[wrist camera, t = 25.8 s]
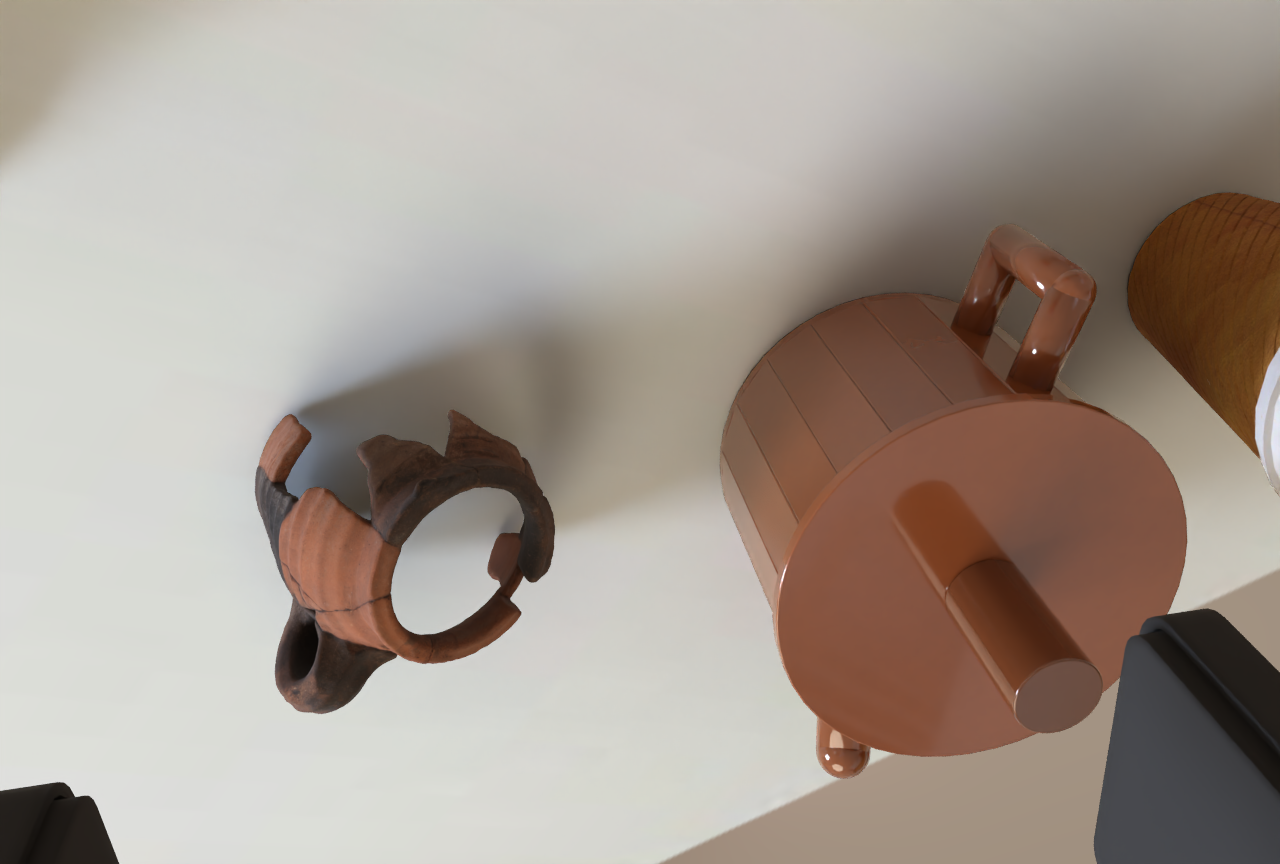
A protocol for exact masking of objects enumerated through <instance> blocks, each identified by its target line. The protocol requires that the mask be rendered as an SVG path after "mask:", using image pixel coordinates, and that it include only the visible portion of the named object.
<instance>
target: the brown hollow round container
mask: <svg viewBox="0 0 1280 864" xmlns="http://www.w3.org/2000/svg"><path fill="white" fill-rule="evenodd" d="M959 304H960V303H957V302H955V301H952V300H949V299H946V298H942V297H937V296H932V295H928V294H916V293H891V294H880V295H875V296H869V297H864V298H860V299H857V300H853V301H850V302H847V303H844V304H840V305H838V306H836V307H834V308H831V309H829V310H827V311H825V312H822V313H820V314H818V315H816V316H815V317H813V318H811V319H810V320H808V321H806V322H805V323H803V324H801V325H800V326H798V327H797V328H796V329H794V330H793V331H792V332H790V333H789V334H788V335H786V336H785V337H784V338H782V339H781V340H780V341H779V342H778V343H777V344H776V345H775V346H774V347H773V348H772V349H771V350H770V351H769V352H768V353H766V354H765V356H764V357H763V358H762V359H761V360H760V362H759V363H758V364H757V365H756V366H755V368H754V369H753V370H752V371H751V373H750V374H749V376H748V377H747V379H746V381H745V382H744V384H743V385H742V387H741V388H740V390H739V392H738V394H737V396H736V398H735V400H734V402H733V405H732V407H731V409H730V412H729V415H728V418H727V421H726V424H725V427H724V431H723V437H722V442H721V448H720V473H721V482H722V487H723V495H724V498H725V501H726V503H727V505H728V508H729V510H730V513H731V515H732V517H733V520H734V522H735V524H736V527H737V529H738V531H739V534H740V536H741V539H742V541H743V543H744V546H745V548H746V550H747V553H748V555H749V557H750V560H751V562H752V565H753V567H754V569H755V572H756V574H757V576H758V579H759V581H760V583H761V586H762V588H763V591H764V593H765V595H766V598H767V600H768V602H769V605H770V607H771V610H772V612H773V599H774V590H775V585H776V580H777V576H778V571H779V567H780V564H781V561H782V559H783V556H784V553H785V551H786V548H787V545H788V543H789V541H790V539H791V537H792V535H793V533H794V531H795V529H796V527H797V526H798V524H799V522H800V520H801V518H802V517H803V515H804V514H805V513H806V511H807V510H808V508H809V507H810V505H811V504H812V502H813V501H814V500H815V498H816V497H817V495H818V494H819V493H820V492H821V491H822V490H823V489H824V488H825V486H826V485H827V484H828V483H829V482H830V481H831V480H832V478H833V477H834V476H835V475H836V474H837V473H838V472H839V471H840V470H842V469H843V468H844V467H845V466H846V465H847V464H848V463H849V462H850V461H852V460H853V459H854V458H855V457H856V456H857V455H858V454H860V453H861V452H862V451H864V450H865V449H866V448H868V447H869V446H871V445H872V444H873V443H875V442H876V441H878V440H879V439H880V438H882V437H883V436H885V435H887V434H888V433H890V432H892V431H894V430H895V429H897V428H899V427H901V426H902V425H904V424H906V423H908V422H910V421H912V420H914V419H916V418H919V417H921V416H923V415H926V414H928V413H930V412H933V411H935V410H937V409H940V408H944V407H947V406H950V405H953V404H957V403H960V402H963V401H967V400H972V399H977V398H982V397H988V396H993V395H1005V394H1020V393H1027V394H1044V395H1054V396H1059V397H1064V398H1069V399H1074V400H1078V401H1081V402H1084V403H1086V402H1085V401H1084V400H1083V399H1082V398H1080V397H1079V396H1078V395H1077V394H1076V393H1075V392H1074V391H1073V390H1071V389H1070V388H1069V387H1068V386H1067V385H1066V384H1065V383H1063V382H1062V381H1061V380H1060V379H1059V378H1058V379H1057V381H1056V383H1055V385H1054V387H1053V389H1052V390H1050V391H1044V390H1039V389H1035V388H1031V387H1028V386H1026V385H1024V384H1021V383H1019V382H1017V381H1016V380H1014V379H1013V378H1012V377H1010V375H1009V371H1010V368H1011V366H1012V364H1013V362H1014V360H1015V357H1016V355H1017V353H1018V351H1019V348H1020V346H1021V345H1020V344H1019V343H1018V342H1017V341H1016V340H1015V339H1014V338H1012V337H1011V336H1010V335H1009V334H1008V333H1007V332H1006V331H1004V330H1003V329H1002V328H1000V327H999V326H997V325H996V326H995V328H994V331H993V333H992V334H991V335H982V334H977V333H974V332H971V331H968V330H965V329H963V328H961V327H959V326H958V325H956V324H955V323H954V322H953V318H954V316H955V313H956V311H957V309H958V306H959Z"/></svg>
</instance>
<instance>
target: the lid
mask: <svg viewBox="0 0 1280 864" xmlns="http://www.w3.org/2000/svg"><path fill="white" fill-rule="evenodd" d="M1186 547H1187V525H1186V515H1185V510H1184V505H1183V500H1182V496H1181V493H1180V491H1179V488H1178V486H1177V483H1176V481H1175V478H1174V476H1173V474H1172V472H1171V471H1170V469H1169V467H1168V466H1167V464H1166V463H1165V461H1164V459H1163V458H1162V456H1161V455H1160V454H1159V453H1158V452H1157V451H1156V450H1155V448H1154V447H1153V446H1152V445H1151V444H1150V443H1149V442H1148V441H1147V440H1146V439H1145V438H1144V437H1143V436H1142V435H1140V434H1139V433H1138V432H1137V431H1135V430H1134V429H1133V428H1132V427H1130V426H1129V425H1128V424H1126V423H1125V422H1124V421H1123V420H1121V419H1119V418H1117V417H1116V416H1114V415H1112V414H1110V413H1108V412H1106V411H1105V410H1103V409H1101V408H1098V407H1095V406H1092V405H1090V404H1087V403H1084V402H1081V401H1078V400H1074V399H1069V398H1064V397H1059V396H1054V395H1044V394H1027V393H1020V394H1005V395H993V396H988V397H982V398H977V399H972V400H967V401H963V402H960V403H957V404H953V405H950V406H947V407H944V408H940V409H937V410H935V411H933V412H930V413H928V414H926V415H923V416H921V417H919V418H916V419H914V420H912V421H910V422H908V423H906V424H904V425H902V426H901V427H899V428H897V429H895V430H894V431H892V432H890V433H888V434H887V435H885V436H883V437H882V438H880V439H879V440H878V441H876V442H875V443H873V444H872V445H871V446H869V447H868V448H866V449H865V450H864V451H862V452H861V453H860V454H858V455H857V456H856V457H855V458H854V459H853V460H852V461H850V462H849V463H848V464H847V465H846V466H845V467H844V468H843V469H842V470H840V471H839V472H838V473H837V474H836V475H835V476H834V477H833V478H832V480H831V481H830V482H829V483H828V484H827V485H826V486H825V488H824V489H823V490H822V491H821V492H820V493H819V494H818V495H817V497H816V498H815V500H814V501H813V502H812V504H811V505H810V507H809V508H808V510H807V511H806V513H805V514H804V515H803V517H802V518H801V520H800V522H799V524H798V526H797V527H796V529H795V531H794V533H793V535H792V537H791V539H790V541H789V543H788V545H787V548H786V551H785V553H784V556H783V559H782V561H781V564H780V567H779V571H778V576H777V580H776V585H775V590H774V599H773V615H772V616H773V626H774V637H775V641H776V645H777V649H778V652H779V656H780V659H781V662H782V664H783V667H784V669H785V671H786V673H787V675H788V678H789V680H790V682H791V684H792V686H793V687H794V689H795V690H796V692H797V693H798V695H799V696H800V698H801V699H802V701H803V702H804V703H805V704H806V705H807V706H808V707H809V708H810V710H811V711H812V712H813V713H814V714H815V715H816V716H817V717H818V718H819V719H821V720H822V721H823V722H825V723H826V724H827V725H829V726H830V727H831V728H833V729H834V730H835V731H837V732H839V733H841V734H843V735H844V736H846V737H848V738H850V739H852V740H854V741H856V742H858V743H861V744H864V745H867V746H869V747H872V748H875V749H878V750H883V751H887V752H891V753H896V754H902V755H912V756H921V757H926V756H928V757H929V756H930V757H931V756H953V755H963V754H970V753H976V752H981V751H985V750H989V749H994V748H998V747H1001V746H1004V745H1007V744H1011V743H1014V742H1017V741H1020V740H1022V739H1024V738H1027V737H1029V736H1032V735H1034V734H1036V733H1054V732H1059V731H1063V730H1065V729H1068V728H1070V727H1072V726H1074V725H1076V724H1078V723H1079V722H1081V721H1082V720H1083V719H1085V718H1086V717H1087V716H1088V715H1089V714H1090V713H1091V712H1092V711H1093V710H1094V708H1095V707H1096V706H1097V704H1098V702H1099V700H1100V698H1101V695H1102V693H1103V692H1104V691H1106V690H1107V689H1108V688H1109V687H1110V686H1111V685H1112V684H1113V683H1114V682H1115V681H1116V680H1118V679H1119V678H1120V676H1121V670H1122V664H1123V657H1124V651H1125V647H1126V643H1127V641H1128V640H1129V638H1130V637H1132V636H1135V635H1139V633H1140V630H1141V627H1142V624H1143V623H1144V622H1145V621H1146V619H1148V618H1151V617H1154V616H1161V615H1167V613H1168V611H1169V609H1170V607H1171V605H1172V602H1173V600H1174V597H1175V595H1176V592H1177V590H1178V587H1179V583H1180V580H1181V576H1182V572H1183V568H1184V564H1185V556H1186Z"/></svg>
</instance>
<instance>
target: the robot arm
mask: <svg viewBox="0 0 1280 864" xmlns="http://www.w3.org/2000/svg"><path fill="white" fill-rule="evenodd" d="M1094 851H1095V857H1096V861H1097V864H1280V672H1279V671H1278V670H1277V669H1275V668H1274V667H1273V665H1272V664H1271V663H1270V662H1269V661H1268V660H1267V659H1266V658H1265V657H1264V656H1263V655H1261V653H1260V652H1259V651H1258V650H1256V648H1255V647H1254V646H1253V645H1251V643H1250V642H1249V641H1248V640H1247V639H1245V637H1244V636H1243V635H1242V634H1240V632H1239V631H1238V630H1237V629H1236V628H1235V627H1234V626H1233V625H1232V624H1231V623H1230V622H1229V621H1228V620H1226V618H1225V617H1223V616H1222V615H1221V614H1219V613H1218V612H1216V611H1215V610H1211V609H1200V610H1194V611H1187V612H1181V613H1174V614H1167V615H1161V616H1154V617H1151V618H1148V619H1146V621H1145V622H1144V623H1143V624H1142V627H1141V630H1140V633H1139V635H1135V636H1132V637H1130V638H1129V640H1128V641H1127V643H1126V647H1125V651H1124V657H1123V664H1122V670H1121V676H1120V682H1119V688H1118V695H1117V701H1116V707H1115V713H1114V719H1113V725H1112V731H1111V737H1110V744H1109V750H1108V756H1107V762H1106V768H1105V775H1104V780H1103V787H1102V793H1101V799H1100V805H1099V812H1098V817H1097V824H1096V830H1095V836H1094ZM0 864H119V862H118V860H117V857H116V854H115V852H114V849H113V847H112V844H111V841H110V839H109V836H108V834H107V831H106V829H105V826H104V823H103V821H102V818H101V816H100V813H99V810H98V808H97V806H96V804H95V802H94V800H93V799H92V798H91V797H90V796H80V797H75V796H74V794H73V792H72V791H71V789H70V787H69V786H67V785H66V784H65V783H61V782H57V783H50V784H43V785H37V786H30V787H23V788H17V789H10V790H4V791H0Z"/></svg>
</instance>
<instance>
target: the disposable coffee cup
mask: <svg viewBox="0 0 1280 864" xmlns="http://www.w3.org/2000/svg"><path fill="white" fill-rule="evenodd" d="M1128 306H1129V310H1130V313H1131V317H1132V320H1133V322H1134V324H1135V326H1136V327H1137V329H1138V330H1139V331H1140V332H1141V334H1142V335H1143V336H1144V337H1145V338H1146V339H1147V340H1148V341H1149V342H1150V343H1151V344H1152V345H1153V346H1154V347H1155V348H1156V349H1157V350H1158V351H1159V352H1160V353H1161V354H1162V355H1163V356H1164V357H1165V359H1166V360H1167V361H1168V362H1169V363H1170V364H1171V365H1172V366H1173V367H1174V368H1175V369H1176V370H1177V371H1178V372H1179V373H1180V374H1181V375H1182V377H1183V378H1184V379H1185V380H1186V381H1187V382H1188V383H1189V384H1190V385H1191V386H1192V387H1193V388H1194V390H1195V391H1196V392H1197V393H1198V394H1199V395H1200V396H1201V397H1202V398H1203V399H1204V400H1205V401H1206V402H1207V403H1208V404H1209V405H1210V406H1211V408H1212V409H1213V410H1214V411H1215V412H1216V413H1217V414H1218V415H1219V416H1220V417H1221V418H1222V419H1223V420H1224V421H1225V422H1226V423H1227V424H1228V425H1229V427H1230V428H1231V429H1232V430H1233V431H1234V432H1235V433H1236V434H1237V435H1238V436H1239V437H1240V438H1241V439H1242V440H1243V441H1244V442H1245V444H1246V445H1247V446H1248V447H1249V448H1250V449H1251V450H1252V451H1253V452H1254V453H1255V455H1256V456H1257V457H1258V458H1259V459H1260V460H1261V462H1262V466H1263V467H1264V470H1265V472H1266V475H1267V477H1268V480H1269V482H1270V484H1271V486H1272V487H1273V488H1274V490H1275V491H1276V493H1277V494H1278V495H1279V496H1280V203H1276V202H1274V201H1269V200H1264V199H1261V198H1256V197H1252V196H1249V195H1246V194H1238V193H1216V194H1213V195H1209V196H1205V197H1201V198H1199V199H1197V200H1195V201H1193V202H1191V203H1189V204H1187V205H1185V206H1183V207H1181V208H1179V209H1178V210H1177V211H1175V212H1174V213H1172V214H1171V215H1169V216H1168V217H1167V218H1166V219H1165V220H1164V221H1163V222H1162V223H1161V224H1160V225H1159V226H1157V227H1156V229H1155V230H1154V231H1153V232H1152V234H1151V235H1150V236H1149V237H1148V239H1147V240H1146V241H1145V243H1144V244H1143V246H1142V248H1141V250H1140V251H1139V253H1138V255H1137V257H1136V260H1135V262H1134V265H1133V268H1132V271H1131V274H1130V278H1129V284H1128Z"/></svg>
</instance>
